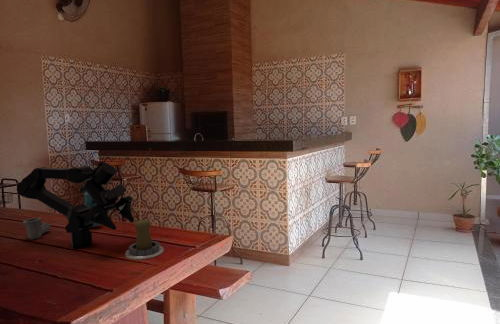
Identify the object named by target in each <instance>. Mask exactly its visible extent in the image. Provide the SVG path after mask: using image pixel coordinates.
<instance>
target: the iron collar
mask: <svg viewBox="0 0 500 324" xmlns="http://www.w3.org/2000/svg"><path fill="white" fill-rule="evenodd" d="M151 241H152V246H153V247H152V248H148V249H136V242H134V243H132V244H130V245H129V246H128V250H126V251H125V253H124V254H125V257H126V258H128V259H130V260H137V261H138V260H149V259H153V258H156V257H159V256H160V255H162V254H163V253H164V250H165V249H164V247H163V246H162V245H161V243H160V242H159V241H157V240H156V241H155V240H151Z"/></svg>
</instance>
